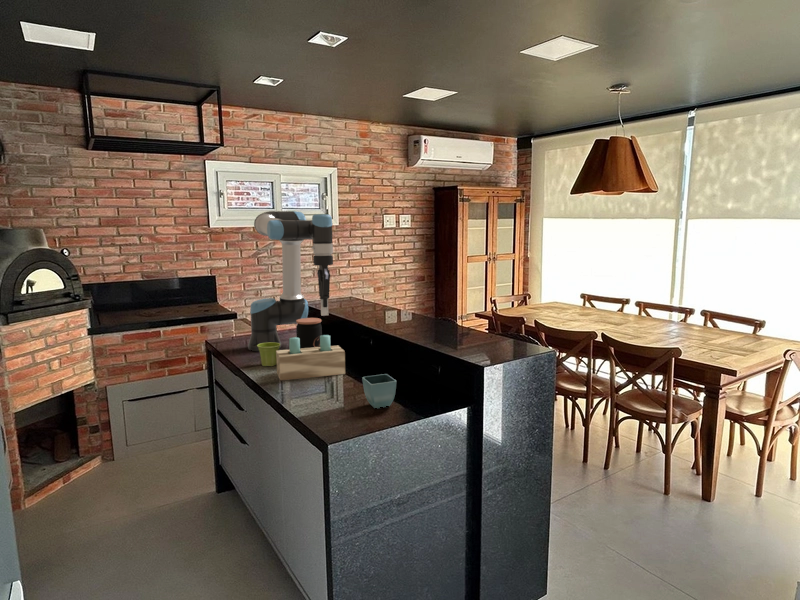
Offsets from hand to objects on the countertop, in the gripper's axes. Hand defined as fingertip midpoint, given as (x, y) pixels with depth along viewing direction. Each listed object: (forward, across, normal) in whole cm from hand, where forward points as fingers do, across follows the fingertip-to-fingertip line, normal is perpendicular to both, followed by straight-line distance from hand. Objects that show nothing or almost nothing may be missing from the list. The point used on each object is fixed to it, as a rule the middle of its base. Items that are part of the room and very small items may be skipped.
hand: (324, 315), depth 200 cm
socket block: (+23, 0, -6) cm, 24 cm away
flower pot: (+24, +45, +8) cm, 51 cm away
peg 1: (+17, 0, -12) cm, 21 cm away
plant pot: (+23, -19, -20) cm, 36 cm away
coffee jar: (+23, -19, -3) cm, 30 cm away
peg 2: (+17, 0, 0) cm, 17 cm away
